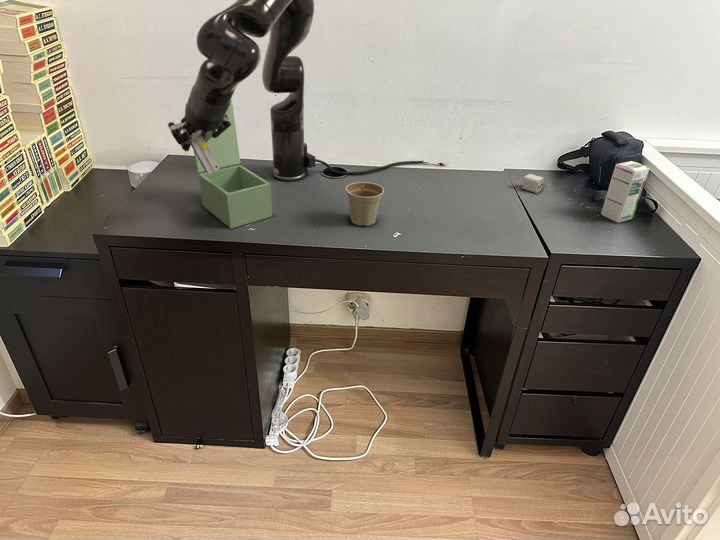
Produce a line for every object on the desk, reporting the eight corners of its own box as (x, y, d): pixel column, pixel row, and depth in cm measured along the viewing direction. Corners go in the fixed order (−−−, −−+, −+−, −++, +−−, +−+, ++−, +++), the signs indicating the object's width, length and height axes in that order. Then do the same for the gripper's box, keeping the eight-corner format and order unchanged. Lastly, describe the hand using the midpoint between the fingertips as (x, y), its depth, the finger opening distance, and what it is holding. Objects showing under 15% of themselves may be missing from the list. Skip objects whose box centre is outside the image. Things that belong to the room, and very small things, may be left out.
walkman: (204, 170, 120) (178, 122, 114) (215, 165, 120) (189, 117, 115) (208, 174, 113) (180, 123, 108) (219, 169, 113) (192, 118, 108)
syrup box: (617, 223, 131) (636, 170, 123) (599, 214, 135) (616, 162, 127) (632, 219, 133) (651, 167, 125) (613, 210, 138) (631, 159, 130)
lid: (231, 97, 124) (221, 95, 128) (186, 103, 118) (177, 101, 122) (240, 163, 132) (230, 159, 136) (198, 172, 125) (189, 167, 129)
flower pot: (386, 216, 129) (388, 185, 125) (375, 232, 122) (377, 199, 117) (352, 210, 132) (353, 179, 127) (339, 225, 124) (339, 193, 119)
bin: (272, 216, 127) (270, 183, 122) (230, 228, 121) (226, 194, 116) (243, 195, 137) (240, 164, 132) (202, 205, 131) (198, 173, 126)
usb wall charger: (527, 185, 150) (530, 173, 148) (549, 192, 147) (553, 179, 145) (521, 189, 148) (524, 176, 146) (543, 196, 144) (547, 183, 142)
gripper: (181, 125, 95) (168, 167, 110) (248, 114, 103) (227, 155, 117) (166, 90, 96) (154, 136, 110) (233, 82, 104) (214, 126, 118)
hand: (192, 146), depth 114 cm, fingers closed on walkman, 3 cm apart
